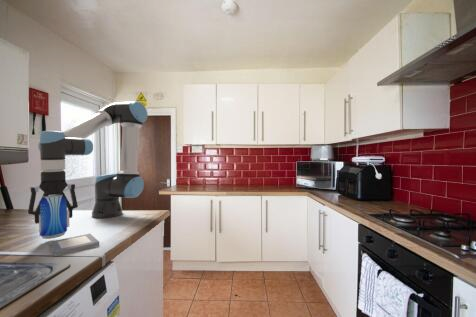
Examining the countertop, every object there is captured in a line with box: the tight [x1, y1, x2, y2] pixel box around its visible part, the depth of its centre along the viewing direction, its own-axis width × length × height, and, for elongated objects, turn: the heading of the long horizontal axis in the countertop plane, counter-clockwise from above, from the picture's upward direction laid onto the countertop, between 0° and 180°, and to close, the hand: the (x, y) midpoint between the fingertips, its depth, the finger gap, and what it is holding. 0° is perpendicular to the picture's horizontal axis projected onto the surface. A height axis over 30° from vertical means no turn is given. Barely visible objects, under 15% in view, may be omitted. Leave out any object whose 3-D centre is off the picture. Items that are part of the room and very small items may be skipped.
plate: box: [49, 233, 100, 257], centre depth 85 cm, size 13×13×2 cm
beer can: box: [38, 194, 68, 240], centre depth 90 cm, size 8×8×16 cm
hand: (54, 228), depth 90 cm, fingers closed on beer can, 8 cm apart
